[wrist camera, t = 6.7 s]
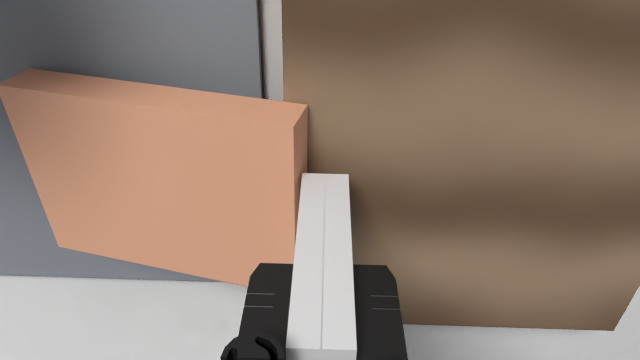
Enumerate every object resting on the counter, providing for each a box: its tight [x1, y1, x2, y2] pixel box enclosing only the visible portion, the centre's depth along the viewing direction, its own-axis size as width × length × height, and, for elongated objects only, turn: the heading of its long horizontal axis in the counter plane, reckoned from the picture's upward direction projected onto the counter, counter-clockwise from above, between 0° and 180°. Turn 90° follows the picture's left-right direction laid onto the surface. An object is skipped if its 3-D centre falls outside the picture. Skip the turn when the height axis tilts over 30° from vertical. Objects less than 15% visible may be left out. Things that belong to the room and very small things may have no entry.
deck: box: [282, 0, 640, 331], centre depth 18 cm, size 14×14×2 cm
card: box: [0, 68, 308, 287], centre depth 17 cm, size 7×10×2 cm
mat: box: [0, 0, 263, 282], centre depth 19 cm, size 14×20×1 cm
